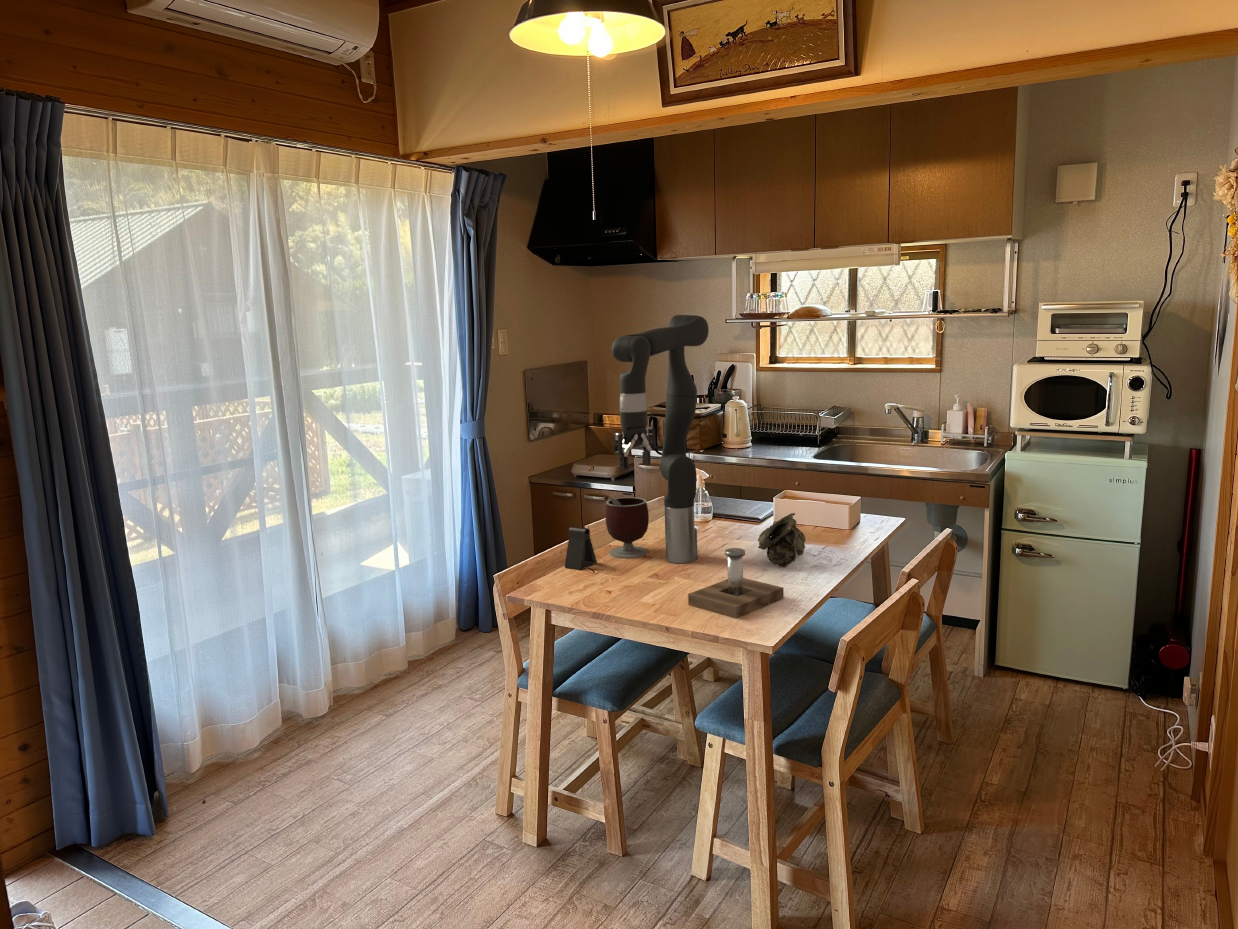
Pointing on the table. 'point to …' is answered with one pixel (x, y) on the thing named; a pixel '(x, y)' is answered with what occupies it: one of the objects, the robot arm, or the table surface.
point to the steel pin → (735, 570)
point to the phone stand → (579, 549)
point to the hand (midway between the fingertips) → (635, 467)
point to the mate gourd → (627, 524)
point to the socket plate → (735, 598)
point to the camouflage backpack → (782, 541)
